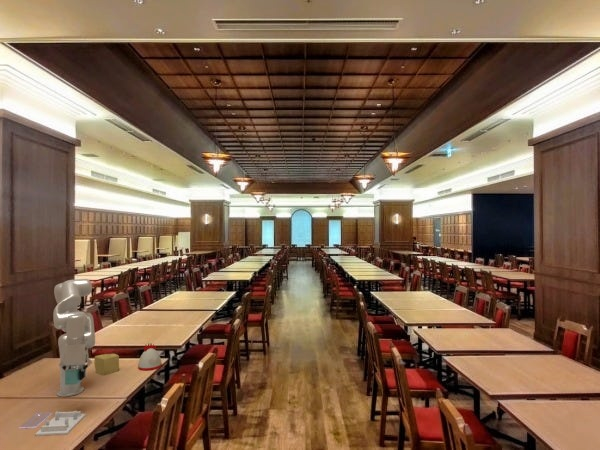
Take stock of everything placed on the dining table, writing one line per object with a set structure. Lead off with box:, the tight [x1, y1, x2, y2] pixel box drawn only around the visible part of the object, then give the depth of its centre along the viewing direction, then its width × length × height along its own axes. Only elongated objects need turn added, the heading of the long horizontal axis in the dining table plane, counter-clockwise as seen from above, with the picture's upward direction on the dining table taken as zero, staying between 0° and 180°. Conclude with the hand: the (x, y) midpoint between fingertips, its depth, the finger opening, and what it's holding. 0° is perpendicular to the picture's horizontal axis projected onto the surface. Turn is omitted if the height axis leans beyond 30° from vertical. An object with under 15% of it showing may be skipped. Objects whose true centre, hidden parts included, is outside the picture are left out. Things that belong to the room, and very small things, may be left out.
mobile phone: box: [18, 411, 53, 430], centre depth 187 cm, size 8×1×15 cm
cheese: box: [93, 353, 120, 376], centre depth 252 cm, size 10×11×10 cm
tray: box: [34, 409, 87, 437], centre depth 182 cm, size 18×13×4 cm
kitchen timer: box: [137, 343, 162, 372], centre depth 260 cm, size 14×14×15 cm
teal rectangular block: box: [65, 365, 87, 385], centre depth 195 cm, size 10×5×6 cm, turn 5°
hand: (75, 379), depth 195 cm, fingers closed on teal rectangular block, 5 cm apart
